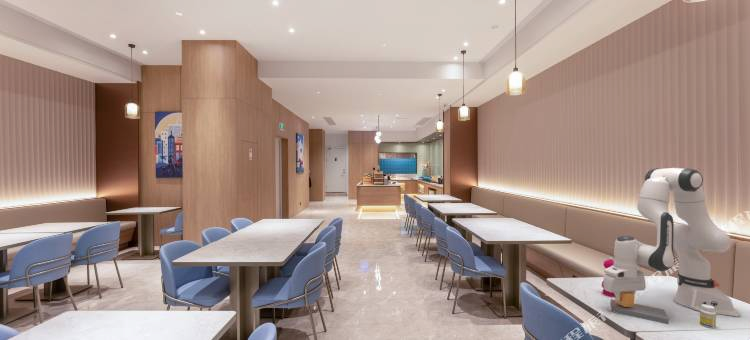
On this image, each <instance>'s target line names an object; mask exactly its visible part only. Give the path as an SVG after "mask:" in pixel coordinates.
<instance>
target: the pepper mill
mask: <svg viewBox="0 0 750 340" xmlns="http://www.w3.org/2000/svg"><path fill="white" fill-rule="evenodd" d="M613 259H614V258H613V257H611V256H610V257H608V259H606V260H604V262H603V267H604V270H605V269H606V268H609V267H611V266H612V265H614V260H613ZM601 288H602V295H604V296H607V297H611V298H615V294H614V292H608V291H606V290H605V289H604V279H603V280H602V282H601Z"/></svg>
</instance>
